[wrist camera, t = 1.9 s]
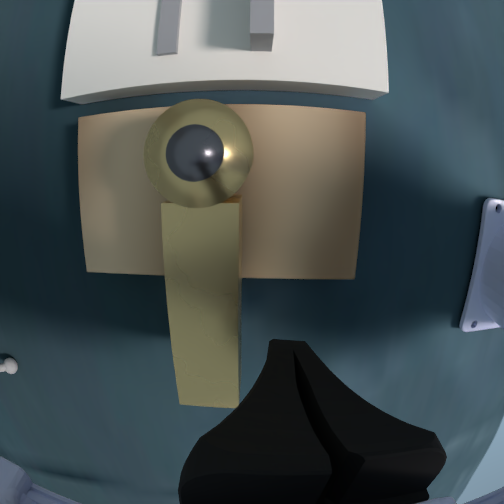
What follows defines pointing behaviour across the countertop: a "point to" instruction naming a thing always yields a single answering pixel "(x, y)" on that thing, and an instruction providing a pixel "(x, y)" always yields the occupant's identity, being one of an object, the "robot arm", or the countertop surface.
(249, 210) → the strip
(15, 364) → the molecular model
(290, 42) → the door panel
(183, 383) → the lock arm
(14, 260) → the countertop surface
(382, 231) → the countertop surface
